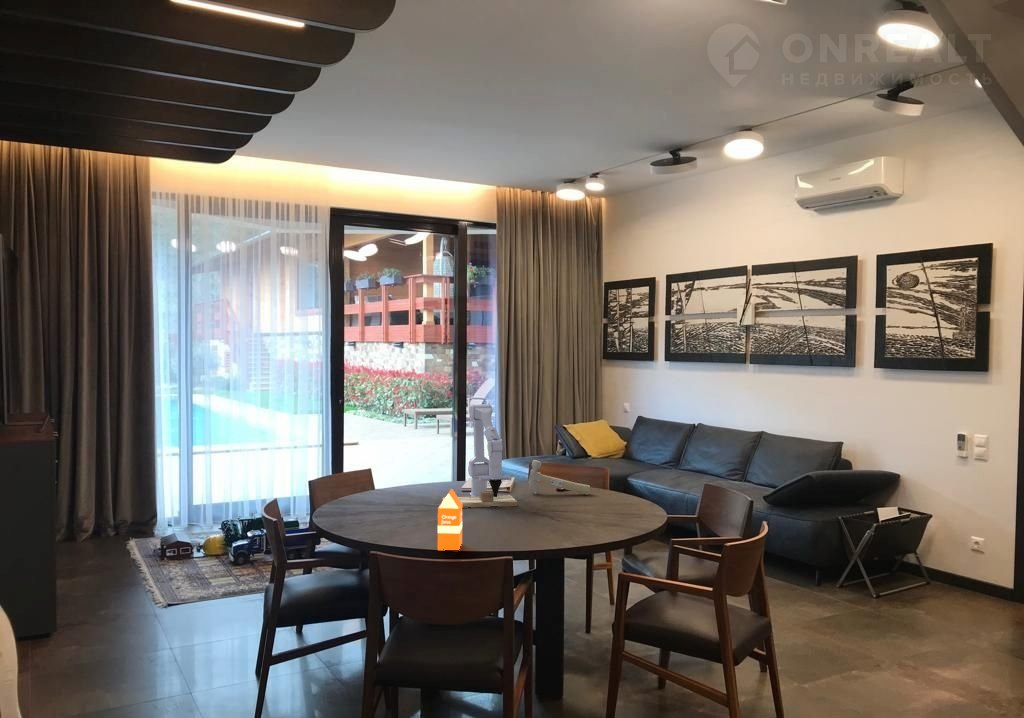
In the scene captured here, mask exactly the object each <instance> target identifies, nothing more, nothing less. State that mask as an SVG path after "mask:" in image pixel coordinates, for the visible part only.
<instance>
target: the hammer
mask: <svg viewBox="0 0 1024 718" xmlns="http://www.w3.org/2000/svg"><path fill="white" fill-rule="evenodd" d="M541 465H542V462H541V461H540V460H536V459H533V460H532V462H531V469H530V472H529V476H528V480H527V483H528V485H529V486H528V487H529V488H530V491H531V492H532V493H533V494H534V495H537V492H536V490H535V482H536V483H545V484H547V485H552V486H555V487H559V488H560V489H564V490H567V491H571V492H575V493H578V494H582V495H585V496H588V495H589V494H590V493H589V492H590V488H591V486H590V484H589V485H588V484H583V483H578V482H574V481H570V480H567V479H562V478H558V477H554V476H549V475H545V474H542V472H538V470H539V469H540V468H541Z"/></svg>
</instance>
